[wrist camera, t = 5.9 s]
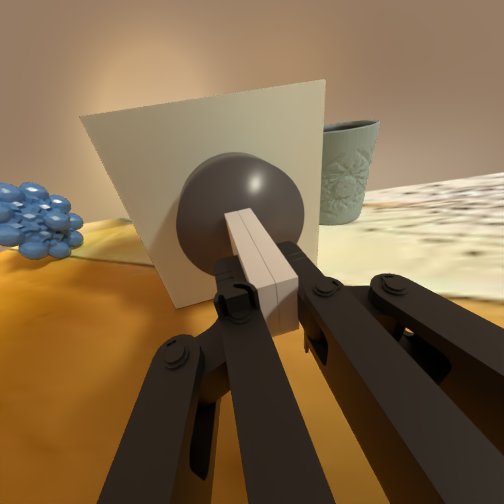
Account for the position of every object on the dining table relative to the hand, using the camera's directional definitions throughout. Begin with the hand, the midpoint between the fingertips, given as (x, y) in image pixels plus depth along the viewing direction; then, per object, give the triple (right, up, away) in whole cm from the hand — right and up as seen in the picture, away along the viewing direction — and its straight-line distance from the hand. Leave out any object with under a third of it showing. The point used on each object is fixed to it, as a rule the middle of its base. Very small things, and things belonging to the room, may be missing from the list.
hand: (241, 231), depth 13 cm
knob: (-1, 0, +7) cm, 7 cm away
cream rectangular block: (-1, -3, +12) cm, 12 cm away
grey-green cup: (+13, +5, +21) cm, 25 cm away
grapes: (-28, -2, +21) cm, 35 cm away
